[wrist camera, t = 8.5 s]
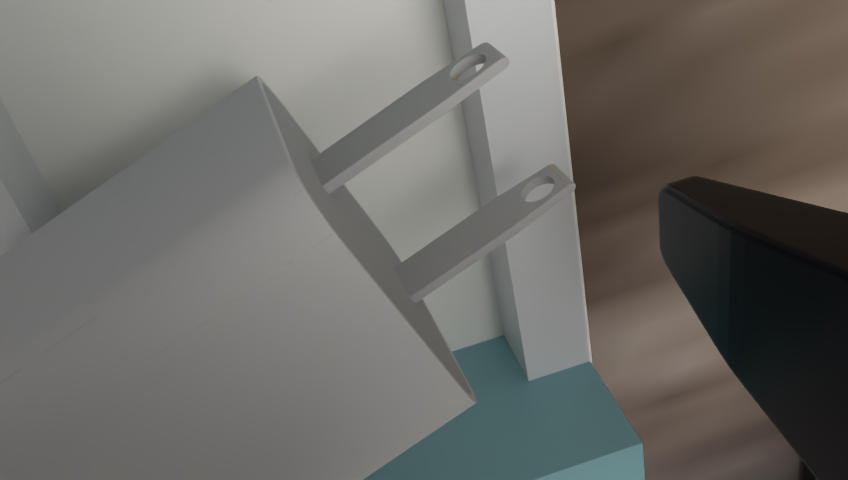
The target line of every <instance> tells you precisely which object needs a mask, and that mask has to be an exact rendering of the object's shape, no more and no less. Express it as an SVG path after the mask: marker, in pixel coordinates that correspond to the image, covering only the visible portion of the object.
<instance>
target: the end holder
mask: <svg viewBox="0 0 848 480" xmlns="http://www.w3.org/2000/svg"><path fill="white" fill-rule="evenodd" d="M485 42H487V43H489V44H491V45H492V46H493V47H494V48H496V49H497V50H498V51H500V52H501V53H502V54H503V55H505V56H506V57H507V58H508V59H509V65H508V66H507V67H506V69H504V70H503V71H502V72H500V73H499V74H498V75H496V76H495V77H494V78H492V79H491V80H490V81H488V82H487V83H486V84H484V85H483V86H482V87H480V88H479V89H478V90H476V91H475V92H474V93H472V94H471V95H470V96H468V97H467V98H466V99H464V100H463V101H462V102H460V103H459V104H458V105H456V106H455V107H454V108H452V109H451V110H450V111H448V112H447V113H445V114H444V115H442V116H441V117H440V118H438V119H437V120H435V121H434V122H432V123H431V124H429V125H428V126H427V127H425V128H424V129H422V130H421V131H419V132H418V133H417V134H415V135H414V136H412V137H411V138H409V139H408V140H406V141H405V142H404V143H402V144H401V145H399V146H398V147H396V148H395V149H393V150H392V151H391V152H389V153H388V154H386V155H385V156H383V157H382V158H381V159H379V160H378V161H376V162H375V163H373V164H372V165H370V166H369V167H368V168H366V169H365V170H363V171H362V172H360V173H359V174H357V175H356V176H355V177H353V178H352V179H350V180H349V181H347V182H346V183H345V185H346V187H347V188H348V189H349V191H350V192H351V193H352V195H353V196H354V197H355V199H356V200H357V201H358V202H359V204H360V205H361V206H362V208H363V209H364V210H365V212H366V213H367V214H368V215H369V217H370V218H371V219H372V221H373V222H374V223H375V225H376V226H377V227H378V229H379V230H380V231H381V233H382V234H383V235H384V237H385V238H386V239H387V241H388V242H389V244H390V245H391V247H392V248H393V249H394V251H395V252H396V254H397V255H398V257H399V258H400V260H401V261H402V262H403V261H405V260H406V259H408V258H409V257H411V256H412V255H413V254H415V253H416V252H418V251H419V250H421V249H422V248H424V247H425V246H426V245H428V244H429V243H431V242H432V241H434V240H435V239H437V238H438V237H439V236H441V235H442V234H444V233H445V232H447V231H448V230H450V229H451V228H453V227H454V226H455V225H457V224H458V223H460V222H461V221H463V220H464V219H466V218H467V217H468V216H470V215H471V214H473V213H474V212H476V211H477V210H479V209H480V208H482V207H483V206H484V205H486V204H487V203H489V202H490V201H492V200H493V199H495V198H496V197H498V196H499V195H501V194H503V193H504V192H506V191H507V190H509V189H511V188H512V187H514V186H515V185H517V184H519V183H520V182H522V181H524V180H525V179H527V178H528V177H530V176H532V175H533V174H535V173H536V172H538V171H540V170H541V169H543V168H544V167H546V166H548V165H550V164H555V165H556V166H557V167H558V168H559V169H560V170H561V171H562V172H563V173H564V174H565V175H566V176H567V177H568V178H569V179H570V180H571V181H572V182H573V173H572V164H571V154H570V145H569V135H568V126H567V116H566V107H565V97H564V87H563V78H562V68H561V59H560V49H559V40H558V30H557V21H556V11H555V2H554V0H0V256H1V255H2V254H4V253H5V252H7V251H8V250H10V249H11V248H12V247H14V246H15V245H17V244H18V243H19V242H21V241H22V240H24V239H25V238H27V237H28V236H29V235H31V234H32V233H34V232H35V231H37V230H38V229H39V228H41V227H42V226H44V225H45V224H46V223H48V222H49V221H51V220H52V219H54V218H55V217H56V216H58V215H59V214H61V213H62V212H63V211H65V210H66V209H68V208H69V207H71V206H72V205H73V204H75V203H76V202H78V201H79V200H81V199H82V198H83V197H85V196H86V195H88V194H89V193H90V192H92V191H93V190H95V189H96V188H98V187H99V186H100V185H102V184H103V183H105V182H106V181H107V180H109V179H110V178H112V177H113V176H115V175H116V174H117V173H119V172H120V171H122V170H123V169H125V168H126V167H127V166H129V165H130V164H132V163H133V162H134V161H136V160H137V159H139V158H140V157H142V156H143V155H144V154H146V153H147V152H149V151H150V150H151V149H153V148H154V147H156V146H157V145H159V144H160V143H161V142H163V141H164V140H166V139H167V138H169V137H170V136H171V135H173V134H174V133H176V132H177V131H178V130H180V129H181V128H183V127H184V126H186V125H187V124H188V123H190V122H191V121H193V120H194V119H196V118H197V117H198V116H200V115H201V114H203V113H204V112H205V111H207V110H208V109H210V108H211V107H213V106H214V105H215V104H217V103H218V102H220V101H221V100H222V99H224V98H225V97H227V96H228V95H230V94H231V93H232V92H234V91H235V90H237V89H238V88H240V87H241V86H242V85H244V84H245V83H247V82H248V81H249V80H251V79H252V78H254V77H255V76H259V77H260V78H261V79H262V80H263V81H264V82H265V83H266V84H267V85H268V86H269V87H270V88H271V90H272V91H273V92H274V93H275V94H276V96H277V97H278V98H279V99H280V101H281V102H282V103H283V105H284V106H285V107H286V109H287V110H288V111H289V112H290V114H291V115H292V116H293V118H294V119H295V120H296V122H297V123H298V124H299V125H300V127H301V128H302V129H303V131H304V132H305V133H306V135H307V136H308V137H309V139H310V140H311V141H312V142H313V144H314V145H315V146H316V148H317V149H318V150H319V152H320V153H321V152H323V151H324V150H326V149H327V148H328V147H330V146H331V145H333V144H334V143H336V142H337V141H338V140H340V139H341V138H343V137H344V136H346V135H347V134H348V133H350V132H351V131H353V130H354V129H356V128H357V127H358V126H360V125H361V124H363V123H364V122H366V121H367V120H368V119H370V118H371V117H373V116H374V115H376V114H377V113H378V112H380V111H381V110H383V109H384V108H386V107H387V106H388V105H390V104H391V103H393V102H394V101H396V100H397V99H398V98H400V97H401V96H403V95H404V94H406V93H407V92H408V91H410V90H411V89H413V88H414V87H416V86H417V85H418V84H420V83H421V82H423V81H424V80H426V79H427V78H429V77H431V76H432V75H434V74H435V73H437V72H438V71H440V70H441V69H443V68H444V67H446V66H448V65H449V64H451V63H452V62H454V61H455V60H457V59H458V58H460V57H461V56H463V55H465V54H466V53H468V52H469V51H471V50H472V49H474V48H475V47H477V46H478V45H480V44H482V43H485ZM484 64H485V63H482V64H478V65H475V66H473V67H471V68H469V69H467V70H466V71H465V72H463V73H462V74H461V75H460V76H459V77H458V79H457V80H462V79H465V78H468V77H470V76H471V75H473V74H475V73H476V72H477V71H479V70H480V69H481V68H482V66H483V65H484ZM553 188H554V184H543V185H540V186H538V187H536V188H534V189H533V190H532V191H531V192H530V193H529V194H528V195H527V197H526V200H525V201H527V202H534V201H538V200H540V199H542V198H544V197H546V196H547V195H548V194H549V193H550V192H551V191H552V189H553ZM423 300H424V302H425V303H426V305H427V307H428V309H429V311H430V313H431V315H432V316H433V318H434V320H435V322H436V324H437V326H438V327H439V329H440V331H441V333H442V335H443V337H444V339H445V340H446V342H447V344H448V346H449V348H450V350H451V352H452V353H453V355H454V357H455V359H456V361H457V363H458V364H459V366H460V368H461V370H462V372H463V374H464V376H465V377H466V379H467V381H468V383H469V385H470V387H471V389H472V391H473V393H474V395H475V397H476V400H477V403H475V404H474V405H472V406H471V407H469V408H468V409H467V410H465V411H464V412H462V413H461V414H459V415H458V416H456V417H455V418H453V419H452V420H450V421H449V422H447V423H446V424H444V425H443V426H441V427H440V428H438V429H437V430H435V431H434V432H433V433H431V434H430V435H428V436H427V437H425V438H424V439H422V440H421V441H419V442H418V443H416V444H415V445H413V446H412V447H410V448H409V449H407V450H406V451H404V452H403V453H401V454H400V455H399V456H397V457H396V458H394V459H393V460H391V461H390V462H388V463H387V464H385V465H384V466H382V467H381V468H379V469H378V470H376V471H375V472H373V473H372V474H370V475H369V476H368V477H366V478H365V479H363V480H645V473H644V457H643V443H642V441H641V439H640V438H639V436H638V435H637V433H636V432H635V430H634V429H633V427H632V426H631V424H630V423H629V421H628V419H627V418H626V416H625V415H624V413H623V412H622V410H621V409H620V407H619V406H618V404H617V402H616V401H615V399H614V398H613V396H612V395H611V393H610V392H609V390H608V389H607V387H606V386H605V384H604V382H603V381H602V379H601V378H600V376H599V375H598V373H597V372H596V370H595V369H594V367H593V366H592V364H591V363H592V355H591V345H590V336H589V326H588V317H587V307H586V298H585V288H584V279H583V269H582V259H581V250H580V240H579V231H578V221H577V212H576V202H575V193H574V191H573V192H572V193H571V194H570V195H568V196H567V197H566V198H564V199H563V200H562V201H560V202H559V203H558V204H556V205H555V206H554V207H552V208H551V209H550V210H548V211H547V212H546V213H544V214H543V215H542V216H540V217H539V218H538V219H536V220H535V221H534V222H532V223H531V224H530V225H529V226H527V227H526V228H525V229H523V230H522V231H521V232H519V233H518V234H516V235H515V236H513V237H512V238H510V239H509V240H507V241H506V242H504V243H503V244H502V245H500V246H499V247H497V248H496V249H494V250H493V251H491V252H490V253H488V254H487V255H485V256H484V257H483V258H481V259H480V260H478V261H477V262H475V263H474V264H472V265H471V266H469V267H468V268H466V269H465V270H464V271H462V272H461V273H459V274H458V275H456V276H455V277H453V278H452V279H450V280H449V281H447V282H446V283H445V284H443V285H442V286H440V287H439V288H437V289H436V290H434V291H433V292H431V293H430V294H428V295H427V296H426V297H424V298H423Z"/></svg>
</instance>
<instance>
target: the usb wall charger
mask: <svg viewBox="0 0 848 480" xmlns="http://www.w3.org/2000/svg"><path fill="white" fill-rule="evenodd" d="M482 63H485V64H484V65H483V66H482V68H481V69H480V70H479V71H477V72H476V73H475V74H473V75H471V76H470V77H468V78H465V79H462V80H457V79H458V77H459V76H460V75H461V74H462V73H463V72H465V71H466V70H467V69H469V68H471V67H473V66H475V65H478V64H482ZM508 65H509V59H508V58H507V57H506V56H505V55H503V54H502V53H501V52H500V51H498V50H497V49H496V48H494V47H493V46H492V45H491V44H489V43H487V42H485V43H482V44H480V45H478V46H477V47H475V48H474V49H472V50H471V51H469V52H468V53H466V54H465V55H463V56H461V57H460V58H458V59H457V60H455V61H454V62H452V63H451V64H449V65H448V66H446V67H444V68H443V69H441V70H440V71H438V72H437V73H435V74H434V75H432V76H431V77H429V78H427V79H426V80H424V81H423V82H421V83H420V84H418V85H417V86H416V87H414V88H413V89H411V90H410V91H408V92H407V93H406V94H404V95H403V96H401V97H400V98H398V99H397V100H396V101H394V102H393V103H391V104H390V105H388V106H387V107H386V108H384V109H383V110H381V111H380V112H378V113H377V114H376V115H374V116H373V117H371V118H370V119H368V120H367V121H366V122H364V123H363V124H361V125H360V126H358V127H357V128H356V129H354V130H353V131H351V132H350V133H348V134H347V135H346V136H344V137H343V138H341V139H340V140H338V141H337V142H336V143H334V144H333V145H331V146H330V147H328V148H327V149H326V150H324V151H323V152H321V153H320V152H319V150H318V149H317V148H316V146H315V145H314V144H313V142H312V141H311V140H310V139H309V137H308V136H307V135H306V133H305V132H304V131H303V129H302V128H301V127H300V125H299V124H298V123H297V122H296V120H295V119H294V118H293V116H292V115H291V114H290V112H289V111H288V110H287V109H286V107H285V106H284V105H283V103H282V102H281V101H280V99H279V98H278V97H277V96H276V94H275V93H274V92H273V91H272V90H271V88H270V87H269V86H268V85H267V84H266V83H265V82H264V81H263V80H262V79H261V78H260V77H259V76H255V77H254V78H252V79H251V80H249V81H248V82H247V83H245V84H244V85H242V86H241V87H240V88H238V89H237V90H235V91H234V92H232V93H231V94H230V95H228V96H227V97H225V98H224V99H222V100H221V101H220V102H218V103H217V104H215V105H214V106H213V107H211V108H210V109H208V110H207V111H205V112H204V113H203V114H201V115H200V116H198V117H197V118H196V119H194V120H193V121H191V122H190V123H188V124H187V125H186V126H184V127H183V128H181V129H180V130H178V131H177V132H176V133H174V134H173V135H171V136H170V137H169V138H167V139H166V140H164V141H163V142H161V143H160V144H159V145H157V146H156V147H154V148H153V149H151V150H150V151H149V152H147V153H146V154H144V155H143V156H142V157H140V158H139V159H137V160H136V161H134V162H133V163H132V164H130V165H129V166H127V167H126V168H125V169H123V170H122V171H120V172H119V173H117V174H116V175H115V176H113V177H112V178H110V179H109V180H107V181H106V182H105V183H103V184H102V185H100V186H99V187H98V188H96V189H95V190H93V191H92V192H90V193H89V194H88V195H86V196H85V197H83V198H82V199H81V200H79V201H78V202H76V203H75V204H73V205H72V206H71V207H69V208H68V209H66V210H65V211H63V212H62V213H61V214H59V215H58V216H56V217H55V218H54V219H52V220H51V221H49V222H48V223H46V224H45V225H44V226H42V227H41V228H39V229H38V230H37V231H35V232H34V233H32V234H31V235H29V236H28V237H27V238H25V239H24V240H22V241H21V242H19V243H18V244H17V245H15V246H14V247H12V248H11V249H10V250H8V251H7V252H5V253H4V254H2V255H1V256H0V480H363V479H365V478H366V477H368V476H369V475H370V474H372V473H373V472H375V471H376V470H378V469H379V468H381V467H382V466H384V465H385V464H387V463H388V462H390V461H391V460H393V459H394V458H396V457H397V456H399V455H400V454H401V453H403V452H404V451H406V450H407V449H409V448H410V447H412V446H413V445H415V444H416V443H418V442H419V441H421V440H422V439H424V438H425V437H427V436H428V435H430V434H431V433H433V432H434V431H435V430H437V429H438V428H440V427H441V426H443V425H444V424H446V423H447V422H449V421H450V420H452V419H453V418H455V417H456V416H458V415H459V414H461V413H462V412H464V411H465V410H467V409H468V408H469V407H471V406H472V405H474V404H475V403H477V400H476V397H475V395H474V393H473V391H472V389H471V387H470V385H469V383H468V381H467V379H466V377H465V376H464V374H463V372H462V370H461V368H460V366H459V364H458V363H457V361H456V359H455V357H454V355H453V353H452V352H451V350H450V348H449V346H448V344H447V342H446V340H445V339H444V337H443V335H442V333H441V331H440V329H439V327H438V326H437V324H436V322H435V320H434V318H433V316H432V315H431V313H430V311H429V309H428V307H427V305H426V303H425V302H424V300H423V298H424V297H426V296H427V295H428V294H430V293H431V292H433V291H434V290H436V289H437V288H439V287H440V286H442V285H443V284H445V283H446V282H447V281H449V280H450V279H452V278H453V277H455V276H456V275H458V274H459V273H461V272H462V271H464V270H465V269H466V268H468V267H469V266H471V265H472V264H474V263H475V262H477V261H478V260H480V259H481V258H483V257H484V256H485V255H487V254H488V253H490V252H491V251H493V250H494V249H496V248H497V247H499V246H500V245H502V244H503V243H504V242H506V241H507V240H509V239H510V238H512V237H513V236H515V235H516V234H518V233H519V232H521V231H522V230H523V229H525V228H526V227H527V226H529V225H530V224H531V223H532V222H534V221H535V220H536V219H538V218H539V217H540V216H542V215H543V214H544V213H546V212H547V211H548V210H550V209H551V208H552V207H554V206H555V205H556V204H558V203H559V202H560V201H562V200H563V199H564V198H566V197H567V196H568V195H570V194H571V193H572V192H573V191H574V190H575V188H576V185H575V183H574V182H572V181H571V180H570V179H569V178H568V177H567V176H566V175H565V174H564V173H563V172H562V171H561V170H560V169H559V168H558V167H557V166H556V165H555V164H550V165H548V166H546V167H544V168H543V169H541V170H540V171H538V172H536V173H535V174H533V175H532V176H530V177H528V178H527V179H525V180H524V181H522V182H520V183H519V184H517V185H515V186H514V187H512V188H511V189H509V190H507V191H506V192H504V193H503V194H501V195H499V196H498V197H496V198H495V199H493V200H492V201H490V202H489V203H487V204H486V205H484V206H483V207H482V208H480V209H479V210H477V211H476V212H474V213H473V214H471V215H470V216H468V217H467V218H466V219H464V220H463V221H461V222H460V223H458V224H457V225H455V226H454V227H453V228H451V229H450V230H448V231H447V232H445V233H444V234H442V235H441V236H439V237H438V238H437V239H435V240H434V241H432V242H431V243H429V244H428V245H426V246H425V247H424V248H422V249H421V250H419V251H418V252H416V253H415V254H413V255H412V256H411V257H409V258H408V259H406V260H405V261H403V262H402V261H401V260H400V258H399V257H398V255H397V254H396V252H395V251H394V249H393V248H392V247H391V245H390V244H389V242H388V241H387V239H386V238H385V237H384V235H383V234H382V233H381V231H380V230H379V229H378V227H377V226H376V225H375V223H374V222H373V221H372V219H371V218H370V217H369V215H368V214H367V213H366V212H365V210H364V209H363V208H362V206H361V205H360V204H359V202H358V201H357V200H356V199H355V197H354V196H353V195H352V193H351V192H350V191H349V189H348V188H347V187H346V185H345V183H346V182H347V181H349V180H350V179H352V178H353V177H355V176H356V175H357V174H359V173H360V172H362V171H363V170H365V169H366V168H368V167H369V166H370V165H372V164H373V163H375V162H376V161H378V160H379V159H381V158H382V157H383V156H385V155H386V154H388V153H389V152H391V151H392V150H393V149H395V148H396V147H398V146H399V145H401V144H402V143H404V142H405V141H406V140H408V139H409V138H411V137H412V136H414V135H415V134H417V133H418V132H419V131H421V130H422V129H424V128H425V127H427V126H428V125H429V124H431V123H432V122H434V121H435V120H437V119H438V118H440V117H441V116H442V115H444V114H445V113H447V112H448V111H450V110H451V109H452V108H454V107H455V106H456V105H458V104H459V103H460V102H462V101H463V100H464V99H466V98H467V97H468V96H470V95H471V94H472V93H474V92H475V91H476V90H478V89H479V88H480V87H482V86H483V85H484V84H486V83H487V82H488V81H490V80H491V79H492V78H494V77H495V76H496V75H498V74H499V73H500V72H502V71H503V70H504V69H506V67H507V66H508ZM543 184H554V188H553V189H552V191H551V192H550V193H549V194H548V195H547V196H546V197H544V198H542V199H540V200H538V201H534V202H527V201H525V200H526V197H527V195H528V194H529V193H530V192H531V191H532V190H533V189H534V188H536V187H538V186H540V185H543Z"/></svg>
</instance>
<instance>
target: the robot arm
mask: <svg viewBox="0 0 848 480" xmlns="http://www.w3.org/2000/svg"><path fill="white" fill-rule="evenodd" d="M658 209H659V236H660V249H661V253H662V256H663V259H664V261H665V264H666V265H667V267H668V269H669V270H670V272H671V274H672V275H673V277H674V279H675V280H676V282H677V284H678V285H679V287H680V288H681V290H682V292H683V293H684V295H685V297H686V298H687V300H688V302H689V303H690V305H691V306H692V308H693V310H694V311H695V313H696V315H697V316H698V318H699V320H700V321H701V323H702V324H703V326H704V328H705V329H706V331H707V333H708V334H709V336H710V338H711V339H712V341H713V343H714V344H715V346H716V347H717V349H718V351H719V352H720V354H721V355H722V357H723V358H724V360H725V361H726V363H727V364H728V366H729V367H730V368H731V370H732V371H733V372H734V374H735V375H736V376H737V378H738V379H739V380H740V382H741V383H742V384H743V386H744V387H745V388H746V389H747V391H748V392H749V393H750V394H751V396H752V397H753V398H754V400H755V401H756V402H757V403H758V405H759V406H760V407H761V408H762V410H763V411H764V412H765V414H766V415H767V416H768V417H769V419H770V420H771V421H772V422H773V424H774V425H775V426H776V428H777V429H778V430H779V431H780V433H781V434H782V435H783V436H784V438H785V439H786V440H787V441H788V443H789V444H790V445H791V447H792V448H793V449H794V450H795V452H796V453H797V454H798V455H799V457H800V458H801V459H802V461H803V462H804V463H805V464H806V469H805V478H804V480H848V213H845V212H841V211H837V210H832V209H828V208H824V207H820V206H816V205H812V204H808V203H804V202H800V201H796V200H792V199H788V198H784V197H779V196H775V195H771V194H767V193H763V192H759V191H755V190H751V189H747V188H743V187H739V186H735V185H731V184H727V183H723V182H718V181H714V180H710V179H706V178H702V177H698V176H692V177H688V178H685V179H681V180H678V181H675V182H672V183H669V184H666V185H664V186H663V187H662V188H661V190H660V192H659V196H658Z"/></svg>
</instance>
